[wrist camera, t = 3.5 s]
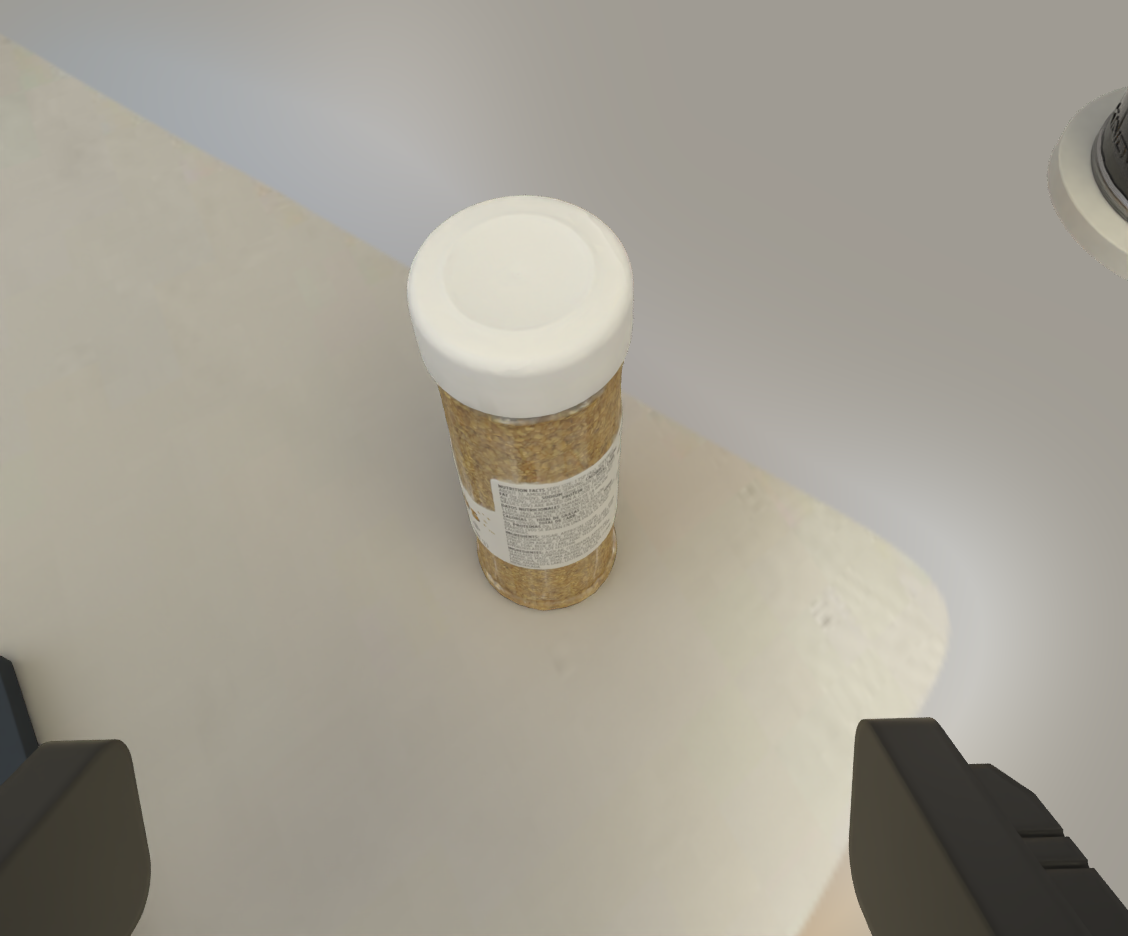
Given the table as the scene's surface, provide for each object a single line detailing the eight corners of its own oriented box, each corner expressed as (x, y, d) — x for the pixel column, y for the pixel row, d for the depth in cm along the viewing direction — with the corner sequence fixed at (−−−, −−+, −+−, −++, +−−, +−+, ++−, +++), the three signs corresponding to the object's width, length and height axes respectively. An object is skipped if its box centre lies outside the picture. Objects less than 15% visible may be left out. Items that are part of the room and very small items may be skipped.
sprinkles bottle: (475, 492, 31) (402, 193, 19) (611, 481, 31) (622, 176, 19) (481, 622, 29) (401, 375, 17) (626, 610, 29) (649, 355, 17)
